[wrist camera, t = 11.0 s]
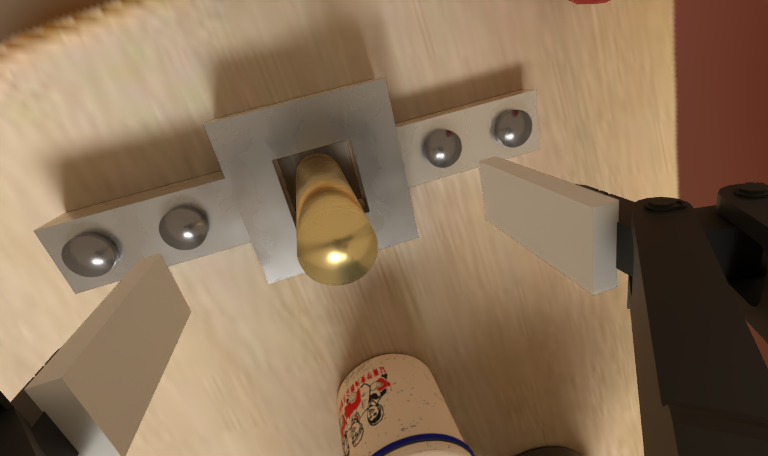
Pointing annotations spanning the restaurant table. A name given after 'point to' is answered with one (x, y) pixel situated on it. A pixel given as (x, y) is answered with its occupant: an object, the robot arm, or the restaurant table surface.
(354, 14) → the restaurant table surface
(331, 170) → the brass pin
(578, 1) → the onion
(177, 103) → the restaurant table surface
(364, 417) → the teacup with lid
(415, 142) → the studded slotted bracket
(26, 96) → the restaurant table surface
